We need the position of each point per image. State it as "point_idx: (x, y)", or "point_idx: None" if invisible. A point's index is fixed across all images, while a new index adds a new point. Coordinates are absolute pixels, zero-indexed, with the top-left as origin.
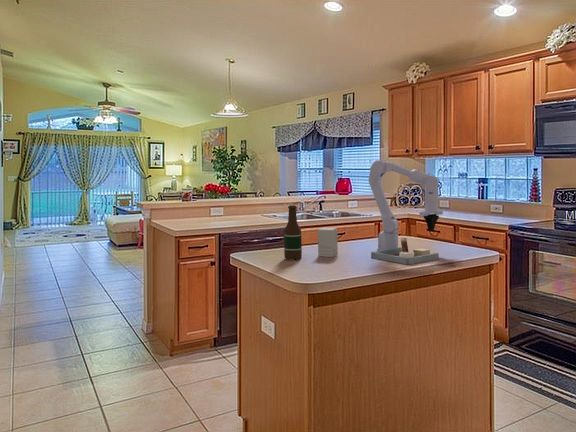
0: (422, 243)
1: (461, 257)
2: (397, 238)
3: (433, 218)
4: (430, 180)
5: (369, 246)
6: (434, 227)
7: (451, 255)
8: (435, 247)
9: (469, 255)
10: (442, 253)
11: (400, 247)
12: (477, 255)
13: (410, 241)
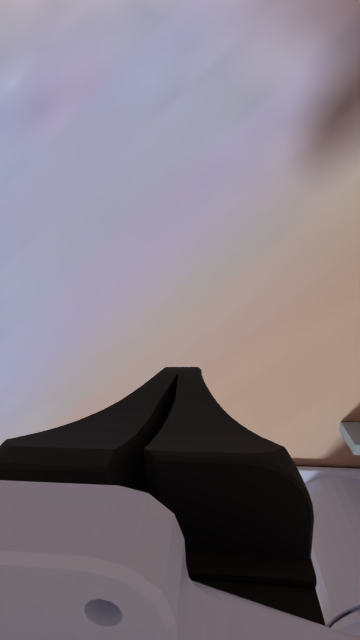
0: None
1: (178, 31)
2: (352, 550)
3: (228, 443)
4: None
5: None
6: (154, 377)
7: (170, 148)
8: (31, 414)
9: (61, 60)
10: (158, 247)
11: None
12: (10, 19)
13: None
